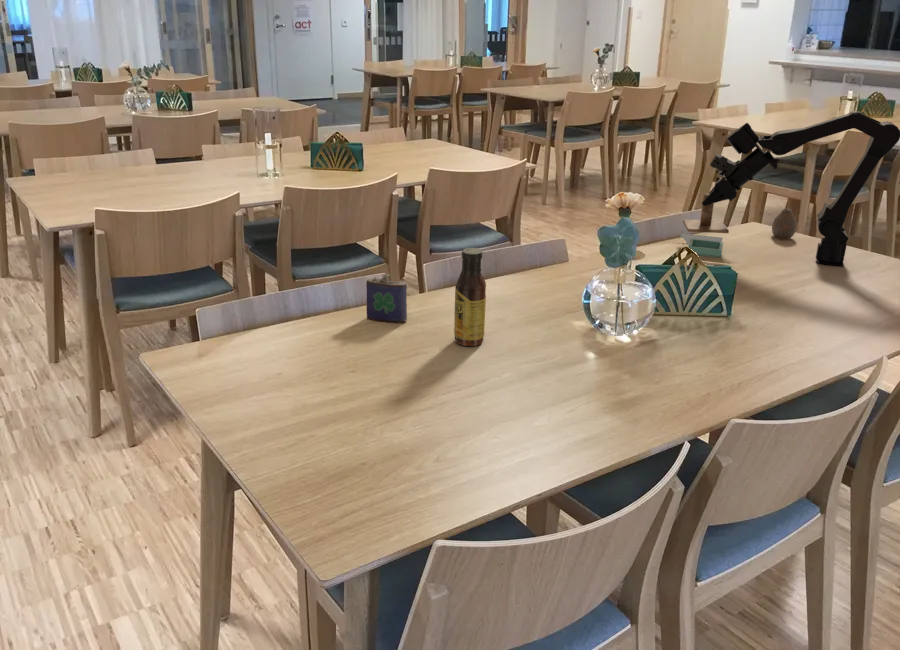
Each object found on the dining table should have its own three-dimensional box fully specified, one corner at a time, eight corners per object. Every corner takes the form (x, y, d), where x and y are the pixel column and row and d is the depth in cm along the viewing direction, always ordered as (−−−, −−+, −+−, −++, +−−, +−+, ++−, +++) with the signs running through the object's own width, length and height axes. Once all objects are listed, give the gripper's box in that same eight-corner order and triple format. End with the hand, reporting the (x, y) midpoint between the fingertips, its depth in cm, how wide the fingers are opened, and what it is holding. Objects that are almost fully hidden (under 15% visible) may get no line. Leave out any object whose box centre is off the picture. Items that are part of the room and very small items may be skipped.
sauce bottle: (452, 336, 169) (454, 245, 162) (482, 335, 170) (485, 244, 163) (455, 348, 163) (457, 254, 156) (486, 348, 164) (489, 254, 156)
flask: (408, 320, 178) (408, 274, 174) (404, 325, 175) (403, 278, 171) (369, 315, 180) (367, 270, 176) (364, 320, 177) (362, 274, 173)
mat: (722, 238, 244) (722, 237, 243) (720, 249, 233) (720, 247, 233) (681, 234, 247) (681, 233, 247) (677, 244, 237) (678, 243, 237)
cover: (721, 223, 235) (725, 191, 232) (728, 233, 225) (733, 199, 222) (682, 222, 237) (686, 190, 233) (687, 231, 227) (691, 198, 223)
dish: (722, 250, 232) (723, 241, 231) (720, 258, 224) (721, 250, 223) (689, 246, 235) (690, 238, 234) (687, 255, 227) (688, 246, 226)
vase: (796, 241, 242) (801, 213, 239) (772, 240, 243) (777, 211, 240) (792, 235, 248) (797, 207, 245) (768, 234, 249) (773, 206, 246)
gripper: (731, 139, 229) (687, 175, 237) (729, 149, 213) (681, 188, 220) (757, 169, 230) (712, 204, 237) (756, 181, 213) (708, 218, 221)
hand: (703, 203), depth 229 cm, fingers closed on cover, 3 cm apart
